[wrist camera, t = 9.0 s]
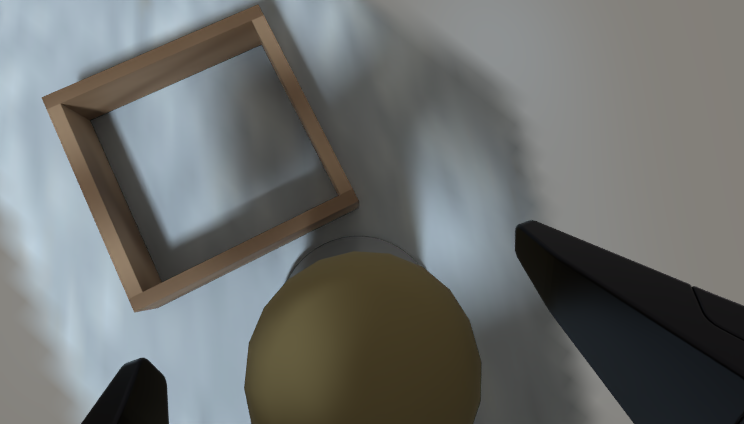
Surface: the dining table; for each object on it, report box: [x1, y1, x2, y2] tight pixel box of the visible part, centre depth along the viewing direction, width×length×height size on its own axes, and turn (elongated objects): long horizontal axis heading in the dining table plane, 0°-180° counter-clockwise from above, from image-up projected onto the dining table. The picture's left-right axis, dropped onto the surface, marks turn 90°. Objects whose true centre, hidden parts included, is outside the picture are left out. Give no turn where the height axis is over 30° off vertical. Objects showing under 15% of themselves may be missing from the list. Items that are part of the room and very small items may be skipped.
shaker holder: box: [42, 5, 359, 312], centre depth 19 cm, size 10×10×2 cm
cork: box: [244, 251, 481, 424], centre depth 13 cm, size 6×6×11 cm
